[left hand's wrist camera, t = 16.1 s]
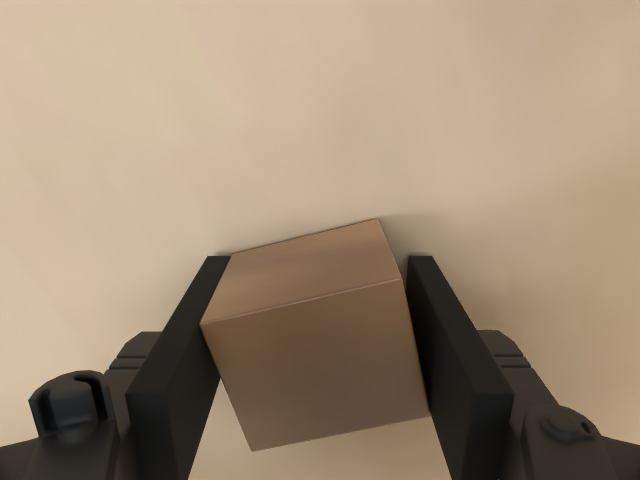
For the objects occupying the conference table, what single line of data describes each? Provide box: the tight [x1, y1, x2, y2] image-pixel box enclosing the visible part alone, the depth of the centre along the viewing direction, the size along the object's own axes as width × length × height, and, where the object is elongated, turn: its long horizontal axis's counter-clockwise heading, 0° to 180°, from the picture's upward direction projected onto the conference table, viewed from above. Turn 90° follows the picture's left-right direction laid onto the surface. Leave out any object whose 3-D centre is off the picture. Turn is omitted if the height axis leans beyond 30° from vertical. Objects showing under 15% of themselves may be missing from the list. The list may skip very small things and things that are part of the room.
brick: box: [199, 219, 431, 452], centre depth 13 cm, size 5×4×4 cm
